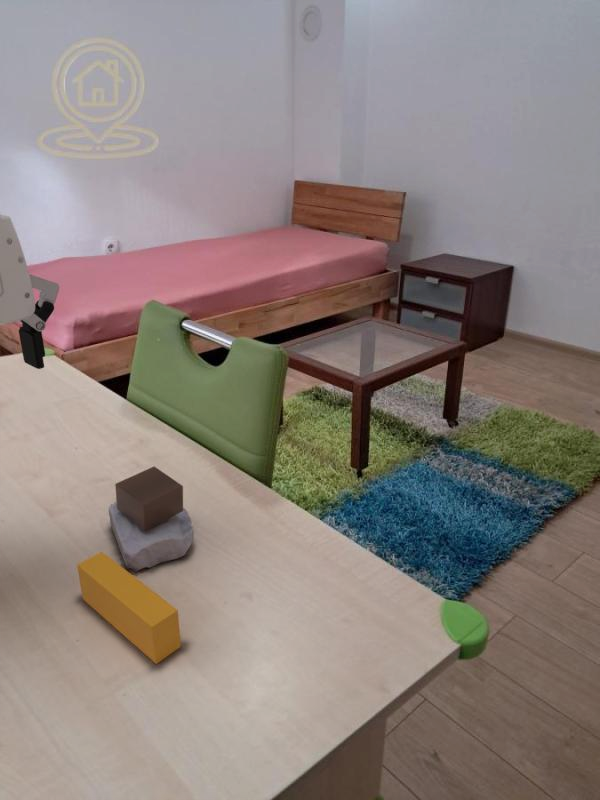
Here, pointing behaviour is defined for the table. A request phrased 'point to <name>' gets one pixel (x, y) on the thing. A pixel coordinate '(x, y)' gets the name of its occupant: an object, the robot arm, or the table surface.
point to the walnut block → (149, 498)
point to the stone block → (151, 539)
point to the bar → (130, 606)
